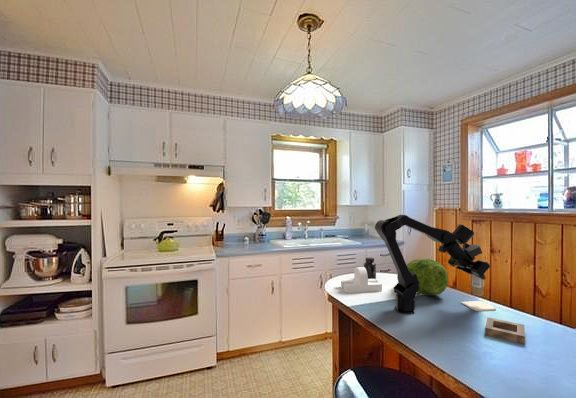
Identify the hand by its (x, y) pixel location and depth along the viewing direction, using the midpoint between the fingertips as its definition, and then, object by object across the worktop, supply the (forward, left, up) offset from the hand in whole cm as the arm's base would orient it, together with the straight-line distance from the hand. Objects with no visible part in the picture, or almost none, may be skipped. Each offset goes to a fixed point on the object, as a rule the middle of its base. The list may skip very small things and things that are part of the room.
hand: (480, 277), depth 125 cm
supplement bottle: (-41, +38, -13) cm, 57 cm away
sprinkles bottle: (-1, 0, -7) cm, 7 cm away
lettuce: (-19, +16, -13) cm, 28 cm away
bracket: (-48, +19, -13) cm, 53 cm away
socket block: (-4, -25, -12) cm, 28 cm away
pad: (-1, 0, -12) cm, 13 cm away
